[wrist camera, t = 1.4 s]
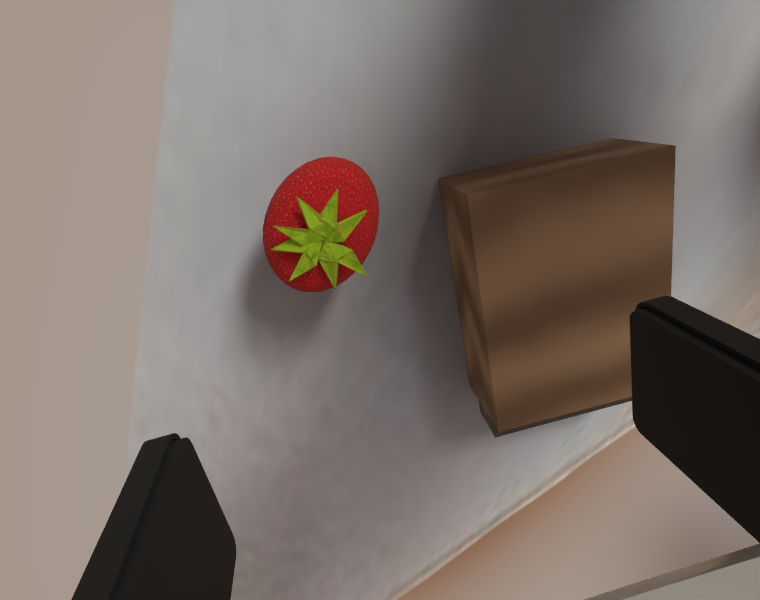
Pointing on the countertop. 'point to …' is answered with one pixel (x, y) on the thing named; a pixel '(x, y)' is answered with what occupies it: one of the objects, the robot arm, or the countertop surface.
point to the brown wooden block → (558, 274)
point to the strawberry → (321, 224)
